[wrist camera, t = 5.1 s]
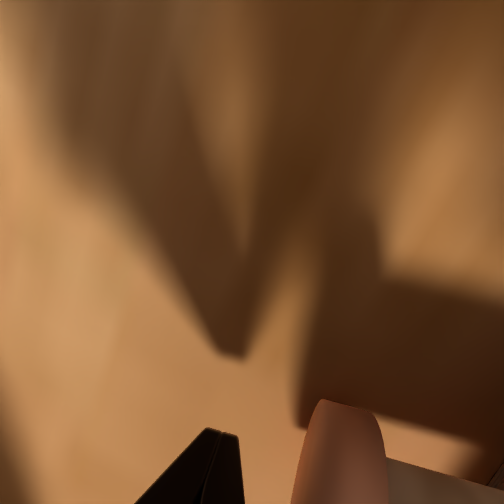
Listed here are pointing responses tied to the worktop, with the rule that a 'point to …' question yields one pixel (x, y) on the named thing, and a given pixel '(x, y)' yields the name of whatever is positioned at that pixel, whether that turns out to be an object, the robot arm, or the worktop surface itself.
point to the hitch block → (498, 479)
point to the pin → (369, 467)
